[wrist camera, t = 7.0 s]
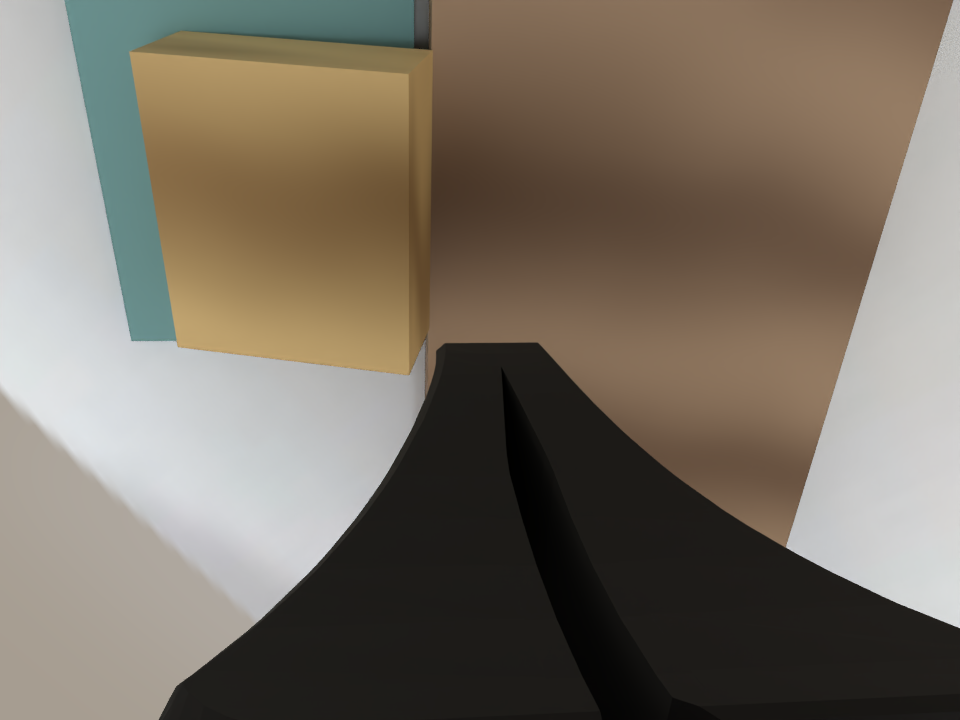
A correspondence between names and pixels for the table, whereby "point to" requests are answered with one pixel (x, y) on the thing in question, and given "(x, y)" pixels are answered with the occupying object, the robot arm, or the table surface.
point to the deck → (675, 209)
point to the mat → (116, 120)
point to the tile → (292, 195)
